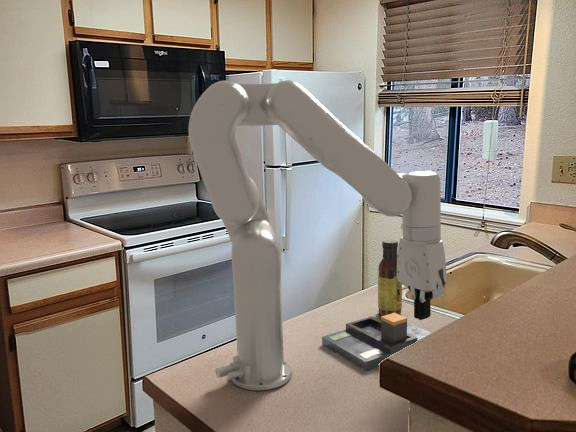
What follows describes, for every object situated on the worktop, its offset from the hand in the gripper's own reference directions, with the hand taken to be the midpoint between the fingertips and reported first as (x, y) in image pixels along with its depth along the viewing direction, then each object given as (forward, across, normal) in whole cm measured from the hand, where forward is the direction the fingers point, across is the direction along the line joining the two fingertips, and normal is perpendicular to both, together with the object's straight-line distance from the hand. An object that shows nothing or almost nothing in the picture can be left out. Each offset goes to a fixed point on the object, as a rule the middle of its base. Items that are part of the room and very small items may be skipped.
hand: (422, 317), depth 111 cm
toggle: (+8, -8, -1) cm, 11 cm away
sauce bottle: (+11, -26, +14) cm, 31 cm away
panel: (+10, -12, -1) cm, 16 cm away
